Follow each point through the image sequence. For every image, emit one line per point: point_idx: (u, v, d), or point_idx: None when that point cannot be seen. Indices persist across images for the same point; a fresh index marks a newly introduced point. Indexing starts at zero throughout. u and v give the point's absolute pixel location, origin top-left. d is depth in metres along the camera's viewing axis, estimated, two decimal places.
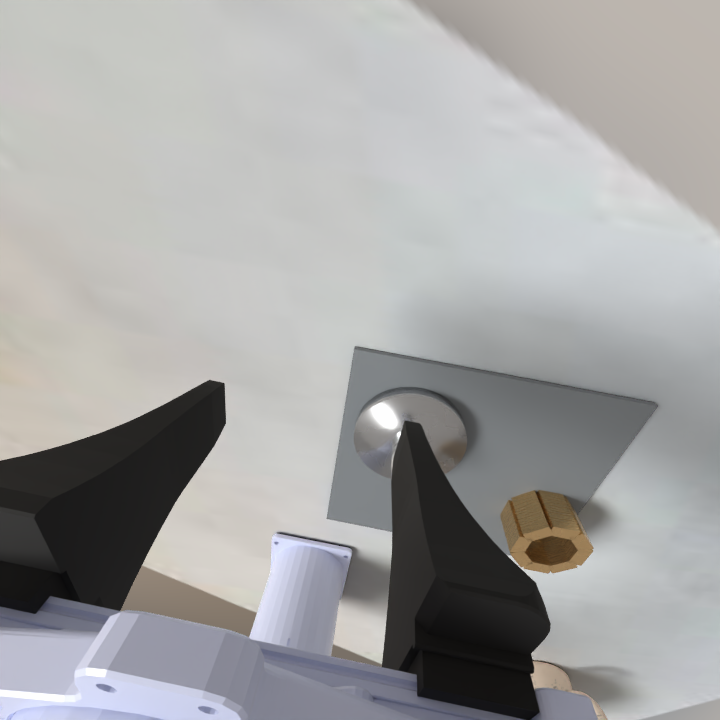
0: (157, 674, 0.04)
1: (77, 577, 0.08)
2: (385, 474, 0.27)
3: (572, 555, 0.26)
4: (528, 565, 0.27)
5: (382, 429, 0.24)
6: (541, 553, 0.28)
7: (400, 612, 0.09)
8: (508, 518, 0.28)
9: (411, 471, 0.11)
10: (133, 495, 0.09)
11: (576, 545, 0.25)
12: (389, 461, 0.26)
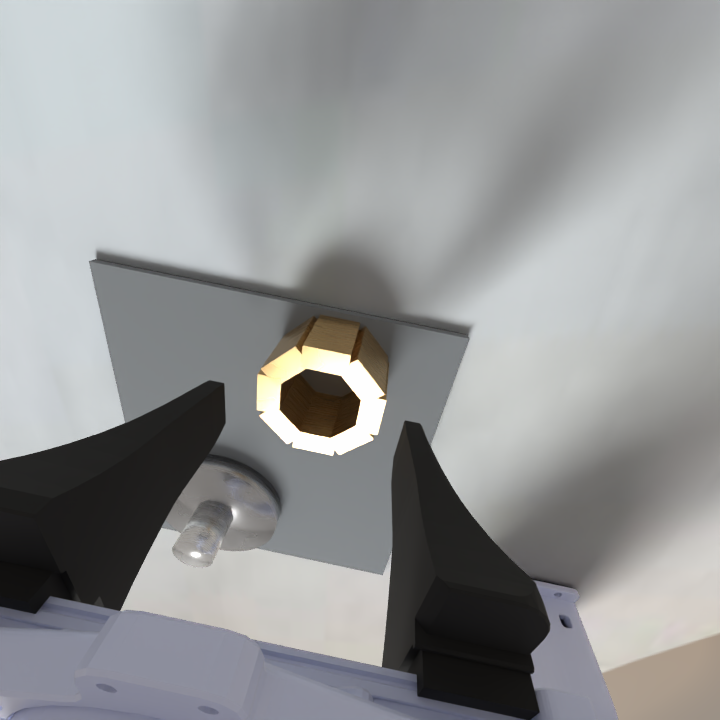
0: (157, 674, 0.04)
1: (77, 577, 0.08)
2: (269, 534, 0.23)
3: (327, 370, 0.14)
4: (366, 429, 0.15)
5: None
6: None
7: (400, 612, 0.09)
8: None
9: (411, 471, 0.11)
10: (133, 495, 0.09)
11: (293, 372, 0.14)
12: (247, 529, 0.23)
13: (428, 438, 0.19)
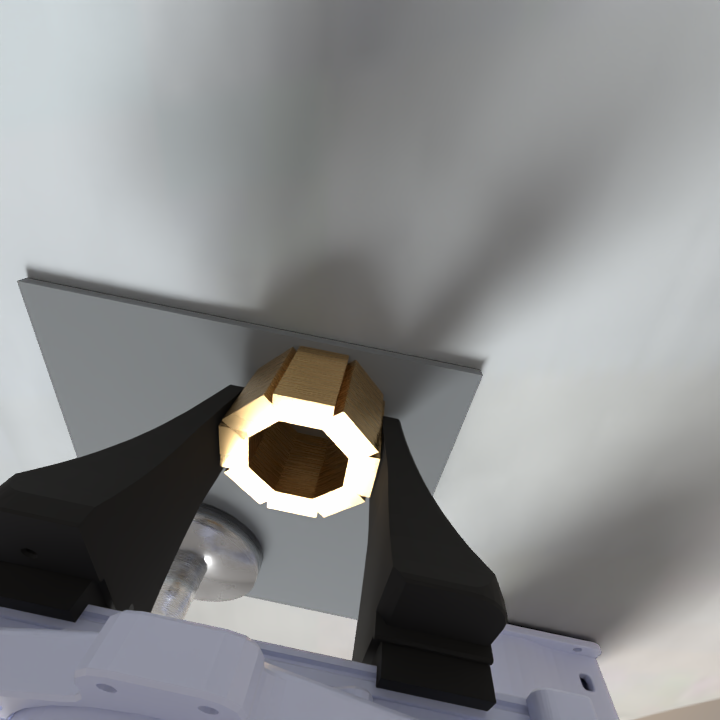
0: (157, 674, 0.04)
1: (114, 585, 0.08)
2: (249, 586, 0.20)
3: (305, 423, 0.11)
4: (356, 491, 0.12)
5: None
6: None
7: (367, 605, 0.09)
8: None
9: (384, 465, 0.11)
10: (164, 501, 0.09)
11: (263, 425, 0.11)
12: (224, 580, 0.20)
13: (431, 485, 0.16)
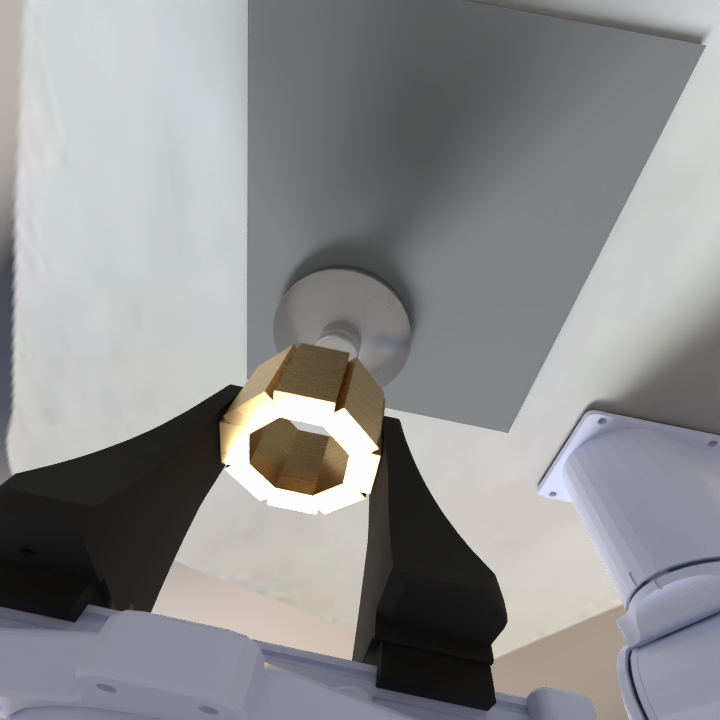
0: (157, 674, 0.04)
1: (113, 585, 0.08)
2: (398, 367, 0.21)
3: (306, 420, 0.11)
4: (356, 487, 0.12)
5: None
6: None
7: (367, 605, 0.09)
8: None
9: (385, 466, 0.11)
10: (163, 501, 0.09)
11: (264, 422, 0.11)
12: (374, 362, 0.21)
13: (613, 216, 0.17)
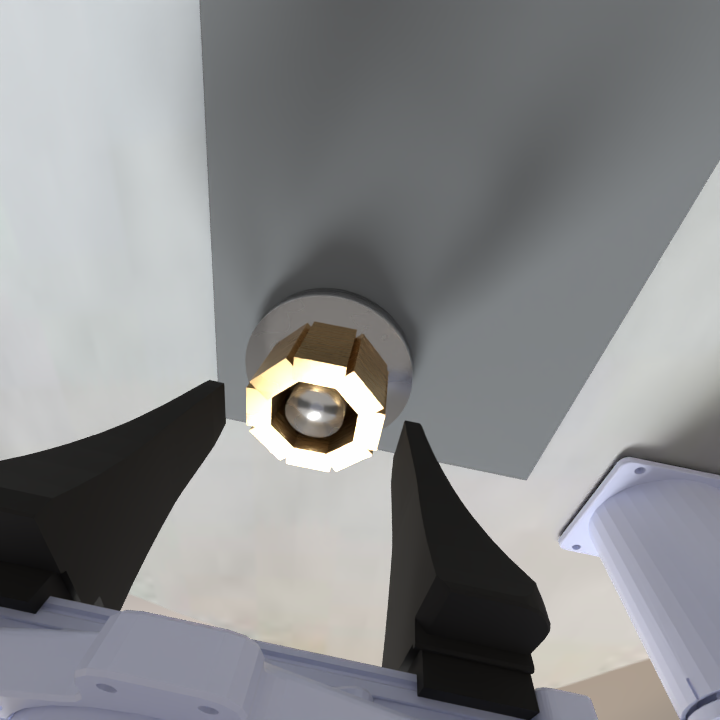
0: (157, 674, 0.04)
1: (77, 577, 0.08)
2: (397, 410, 0.17)
3: (321, 383, 0.13)
4: (364, 445, 0.14)
5: None
6: None
7: (400, 612, 0.09)
8: None
9: (411, 471, 0.11)
10: (133, 495, 0.09)
11: (285, 386, 0.13)
12: None
13: (670, 231, 0.13)
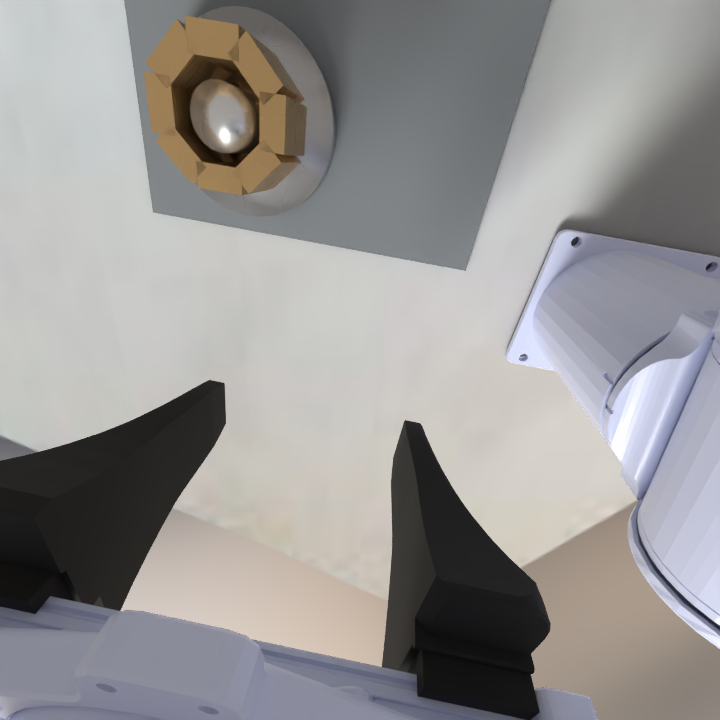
0: (157, 674, 0.04)
1: (77, 577, 0.08)
2: (321, 164, 0.17)
3: (217, 57, 0.13)
4: (271, 147, 0.14)
5: None
6: None
7: (400, 612, 0.09)
8: None
9: (411, 471, 0.11)
10: (133, 495, 0.09)
11: (181, 63, 0.13)
12: None
13: None
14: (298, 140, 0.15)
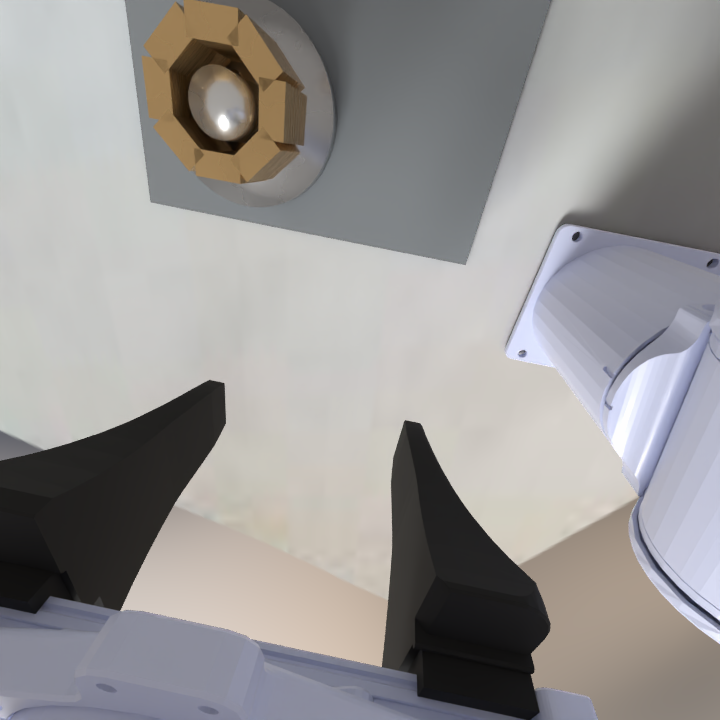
0: (157, 674, 0.04)
1: (77, 577, 0.08)
2: (321, 154, 0.16)
3: (216, 42, 0.12)
4: (270, 135, 0.14)
5: None
6: None
7: (400, 612, 0.09)
8: None
9: (411, 471, 0.11)
10: (133, 495, 0.09)
11: (180, 48, 0.12)
12: None
13: None
14: (298, 129, 0.15)
